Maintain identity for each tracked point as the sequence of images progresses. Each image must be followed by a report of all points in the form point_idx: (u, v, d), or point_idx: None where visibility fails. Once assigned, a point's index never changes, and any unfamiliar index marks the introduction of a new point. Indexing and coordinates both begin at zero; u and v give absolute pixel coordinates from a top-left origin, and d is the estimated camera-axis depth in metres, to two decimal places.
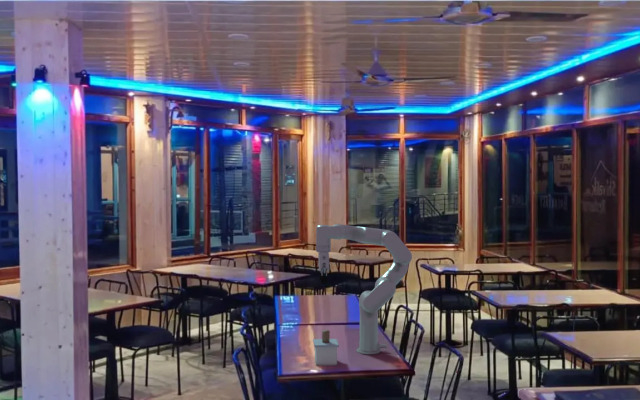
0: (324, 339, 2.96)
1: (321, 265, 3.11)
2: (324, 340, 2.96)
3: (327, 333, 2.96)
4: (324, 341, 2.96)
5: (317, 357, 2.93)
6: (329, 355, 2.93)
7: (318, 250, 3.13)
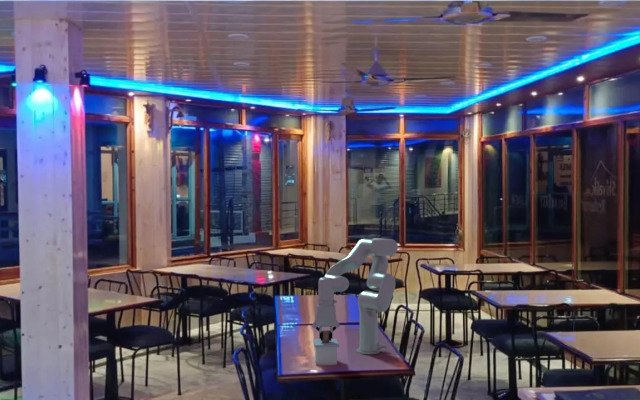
0: (324, 339, 2.96)
1: None
2: (324, 340, 2.96)
3: (327, 333, 2.96)
4: (324, 341, 2.96)
5: (317, 357, 2.93)
6: (329, 355, 2.93)
7: (331, 305, 2.95)
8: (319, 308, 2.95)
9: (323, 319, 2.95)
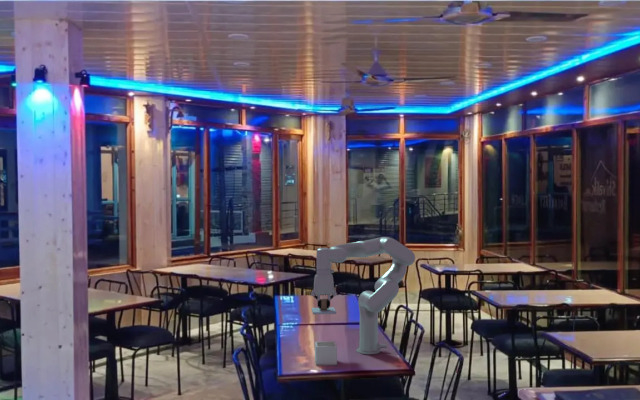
0: (322, 307, 3.10)
1: (333, 288, 3.10)
2: (322, 308, 3.10)
3: (325, 301, 3.10)
4: (322, 309, 3.10)
5: (317, 357, 2.93)
6: (329, 355, 2.93)
7: (329, 274, 3.08)
8: (317, 277, 3.08)
9: (321, 288, 3.09)
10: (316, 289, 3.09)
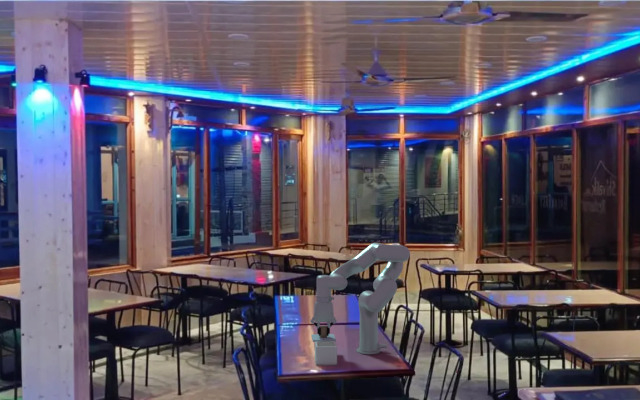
0: (322, 334, 3.10)
1: (333, 315, 3.11)
2: (322, 335, 3.10)
3: (325, 328, 3.10)
4: (322, 336, 3.10)
5: (317, 357, 2.93)
6: (329, 355, 2.93)
7: (329, 301, 3.09)
8: (317, 304, 3.09)
9: (321, 315, 3.09)
10: (316, 316, 3.09)
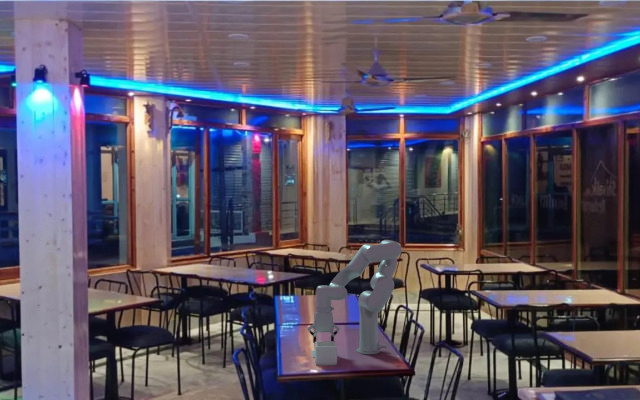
0: None
1: (333, 325, 3.11)
2: None
3: None
4: None
5: (317, 357, 2.93)
6: (329, 355, 2.93)
7: (328, 312, 3.09)
8: (317, 315, 3.09)
9: (321, 325, 3.09)
10: (316, 327, 3.09)
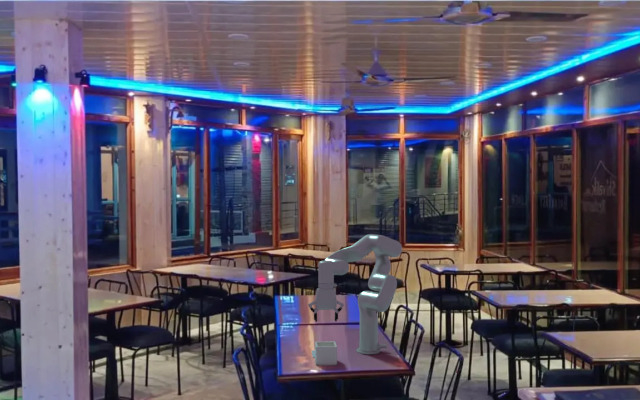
0: None
1: (336, 302, 2.96)
2: None
3: None
4: None
5: (317, 357, 2.93)
6: (329, 355, 2.93)
7: (331, 288, 2.95)
8: (319, 291, 2.95)
9: (323, 302, 2.95)
10: (318, 304, 2.95)
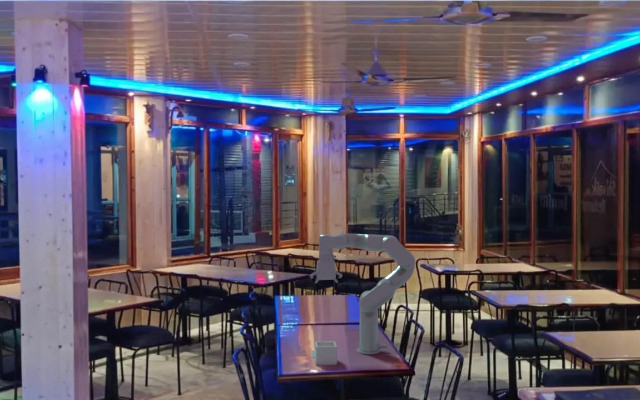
0: None
1: (335, 273, 3.19)
2: None
3: None
4: None
5: (317, 357, 2.93)
6: (329, 355, 2.93)
7: (331, 259, 3.17)
8: (320, 262, 3.17)
9: (323, 273, 3.17)
10: (319, 274, 3.17)
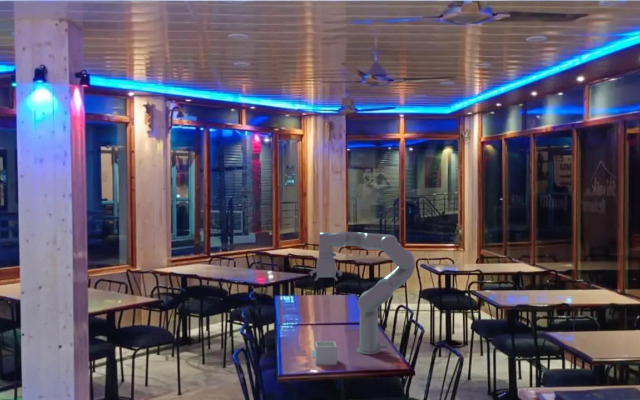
0: None
1: (335, 271, 3.21)
2: None
3: None
4: None
5: (317, 357, 2.93)
6: (329, 355, 2.93)
7: (331, 257, 3.19)
8: (320, 260, 3.20)
9: (323, 270, 3.20)
10: (318, 272, 3.20)
